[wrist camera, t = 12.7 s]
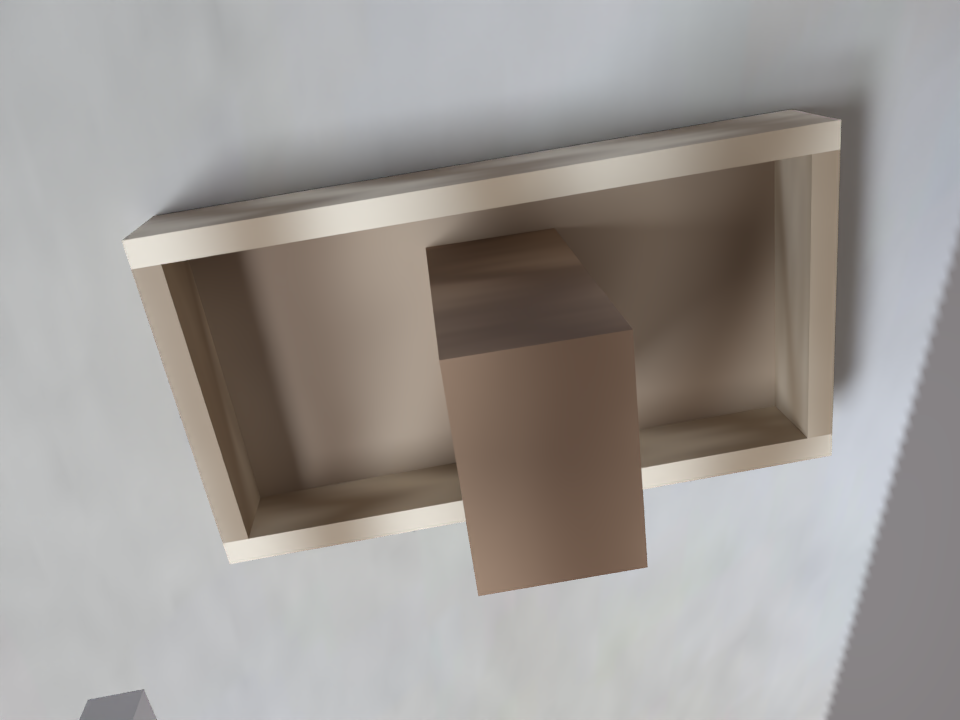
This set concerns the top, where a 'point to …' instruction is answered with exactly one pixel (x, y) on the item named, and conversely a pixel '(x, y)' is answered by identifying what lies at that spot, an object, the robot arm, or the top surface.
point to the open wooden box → (412, 336)
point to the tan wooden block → (538, 411)
